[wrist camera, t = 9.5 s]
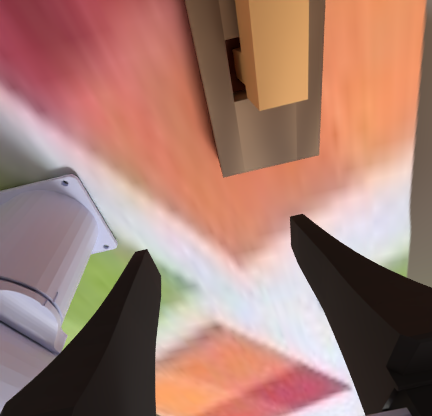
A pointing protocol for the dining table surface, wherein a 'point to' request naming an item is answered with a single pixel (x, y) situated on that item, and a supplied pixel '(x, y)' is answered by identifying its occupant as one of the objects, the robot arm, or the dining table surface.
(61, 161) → the dining table surface
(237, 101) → the rail
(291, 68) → the tan wooden beam
